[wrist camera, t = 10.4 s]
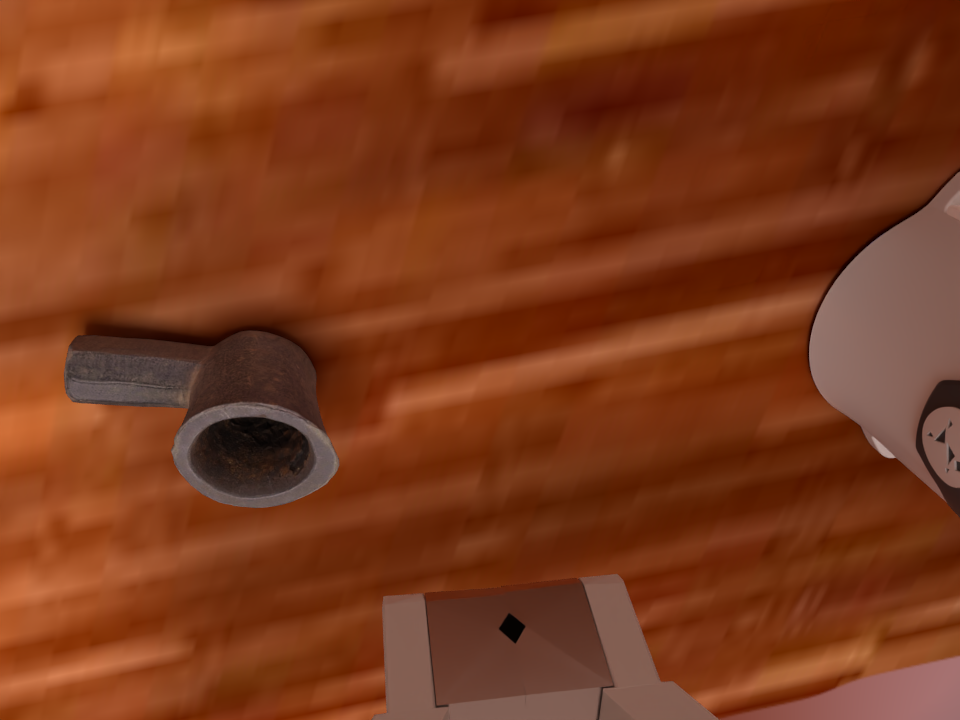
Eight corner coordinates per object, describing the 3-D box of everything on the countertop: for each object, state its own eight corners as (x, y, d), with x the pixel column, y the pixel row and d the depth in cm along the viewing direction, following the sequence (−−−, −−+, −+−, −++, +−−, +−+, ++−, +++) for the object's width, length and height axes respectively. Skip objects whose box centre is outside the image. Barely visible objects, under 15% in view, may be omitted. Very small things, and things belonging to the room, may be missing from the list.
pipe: (82, 292, 40) (29, 384, 34) (347, 323, 43) (348, 413, 36) (85, 395, 43) (38, 498, 37) (333, 418, 46) (331, 517, 40)
